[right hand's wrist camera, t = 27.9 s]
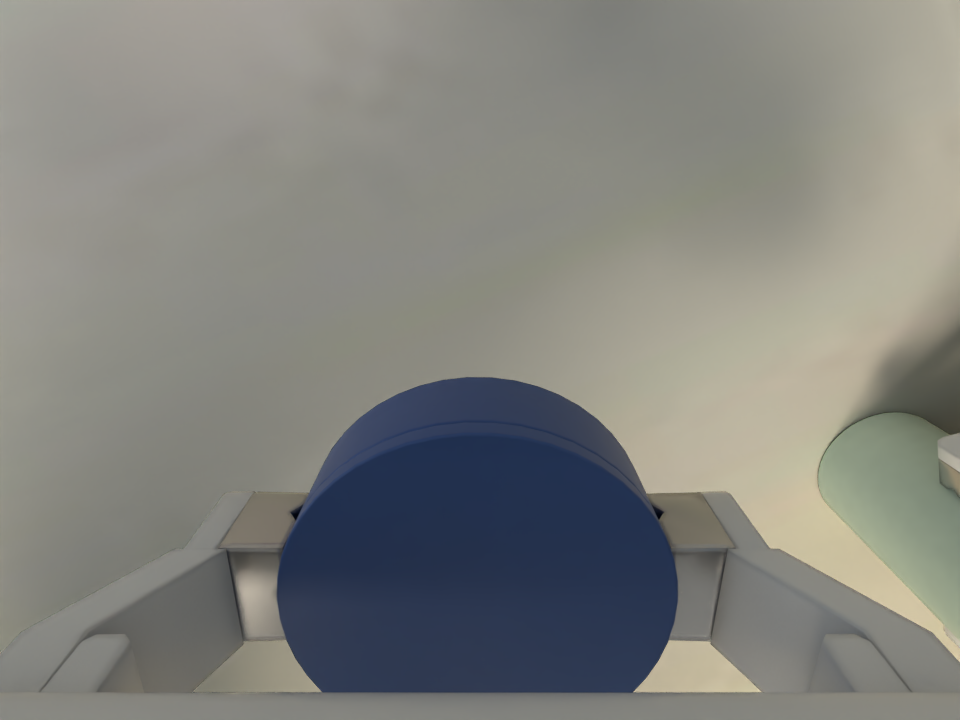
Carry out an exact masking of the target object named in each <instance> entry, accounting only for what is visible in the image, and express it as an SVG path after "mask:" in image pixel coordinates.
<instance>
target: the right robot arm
mask: <svg viewBox="0 0 960 720" xmlns="http://www.w3.org/2000/svg"><path fill="white" fill-rule="evenodd" d="M308 495H309V493H297V492H254V491H249V492H228V493H225V494H224V495H223V496H222V497H221V498H220V500H219V501H218V502H217V504H216V505H215V506H214V508H213V509H212V511H211V512H210V513H209V515H208V516H207V517H206V519H205V520H204V522H203V523H202V524H201V526H200V527H199V528H198V530H197V531H196V532H195V534H194V535H193V537H192V538H191V539H190V541H189V542H188V543H187V545H186V546H185V548H184V549H173V550H172V551H170V552H168V553H166V554H164V555H162V556H160V557H159V558H157V559H155V560H153V561H151V562H149V563H147V564H146V565H144V566H142V567H140V568H138V569H136V570H135V571H133V572H131V573H129V574H127V575H125V576H123V577H122V578H120V579H118V580H116V581H114V582H112V583H110V584H109V585H107V586H105V587H103V588H101V589H99V590H97V591H96V592H94V593H92V594H90V595H88V596H86V597H84V598H83V599H81V600H79V601H77V602H75V603H73V604H72V605H70V606H68V607H66V608H64V609H62V610H60V611H59V612H57V613H55V614H53V615H51V616H49V617H47V618H46V619H44V620H42V621H40V622H38V623H36V624H34V625H33V626H31V627H29V628H27V629H25V630H23V631H21V632H20V633H19V635H18V636H17V637H16V638H15V639H14V640H13V641H12V642H11V643H10V644H9V645H8V646H7V647H6V648H5V649H4V651H3V652H2V653H1V654H0V720H960V662H959V661H958V660H957V659H956V658H955V657H954V656H953V655H952V654H951V653H950V651H949V650H948V649H947V648H946V647H945V646H944V645H943V644H942V643H941V642H940V641H939V639H938V638H937V637H936V636H935V635H934V634H933V633H932V632H930V631H928V630H927V629H925V628H923V627H921V626H919V625H917V624H916V623H914V622H912V621H910V620H908V619H906V618H905V617H903V616H901V615H899V614H897V613H895V612H894V611H892V610H890V609H888V608H886V607H885V606H883V605H881V604H879V603H877V602H875V601H874V600H872V599H870V598H868V597H866V596H864V595H863V594H861V593H859V592H857V591H855V590H853V589H852V588H850V587H848V586H846V585H844V584H842V583H841V582H839V581H837V580H835V579H833V578H831V577H830V576H828V575H826V574H824V573H822V572H820V571H819V570H817V569H815V568H813V567H811V566H809V565H808V564H806V563H804V562H802V561H800V560H799V559H797V558H795V557H793V556H791V555H789V554H788V553H786V552H784V551H782V550H780V549H770V548H769V547H768V545H767V544H766V542H765V541H764V540H763V538H762V537H761V535H760V534H759V533H758V531H757V530H756V529H755V527H754V526H753V524H752V523H751V522H750V520H749V519H748V517H747V516H746V515H745V513H744V512H743V511H742V509H741V508H740V506H739V505H738V504H737V502H736V501H735V499H734V498H733V497H732V495H731V494H730V493H728V492H726V491H715V492H697V493H650V494H647V496H648V498H649V501H650V503H651V505H652V507H653V509H654V511H655V514H656V516H657V518H658V520H659V522H660V524H661V526H662V529H663V531H664V533H665V535H666V537H667V540H668V543H669V545H670V548H671V551H672V554H673V557H674V561H675V566H676V572H677V578H678V603H677V610H676V616H675V622H674V625H673V628H672V631H671V634H670V637H669V640H683V641H711V643H710V644H711V645H712V646H713V647H715V648H716V649H717V650H718V651H719V652H720V653H721V654H722V655H723V656H724V657H725V658H726V659H727V660H728V661H730V662H731V663H732V664H733V665H734V666H735V667H736V668H737V669H738V670H739V671H740V672H741V673H742V674H743V675H745V676H746V677H747V678H748V679H749V680H750V681H751V682H752V683H753V684H754V685H755V686H756V687H757V688H759V689H760V690H761V691H762V692H763V693H417V692H280V693H191V692H192V691H193V690H194V689H195V688H196V687H197V686H199V685H200V684H201V683H202V682H203V681H204V680H205V679H206V678H207V677H208V676H209V675H211V674H212V673H213V672H214V671H215V670H216V669H217V668H218V667H219V666H220V665H221V664H222V663H224V662H225V661H226V660H227V659H228V658H229V657H230V656H231V655H232V654H233V653H234V652H236V651H237V650H238V649H239V648H240V647H241V646H242V645H243V641H270V640H286V637H285V634H284V631H283V628H282V625H281V622H280V617H279V610H278V603H277V575H278V570H279V565H280V559H281V555H282V552H283V550H284V547H285V544H286V542H287V539H288V536H289V534H290V532H291V530H292V528H293V526H294V524H295V522H296V519H297V517H298V515H299V513H300V511H301V509H302V507H303V505H304V503H305V501H306V499H307V497H308Z"/></svg>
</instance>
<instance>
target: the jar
mask: <svg viewBox="0 0 960 720" xmlns="http://www.w3.org/2000/svg"><path fill="white" fill-rule="evenodd" d="M945 436H949V434H948V433H946V432H945V431H943V430H941V429H940V428H938V427H936V426H935V425H933V424H932V423H930V422H928V421H927V420H925V419H923V418H921V417H919V416H916V415H912V414H908V413H899V412H891V413H883V414H878V415H874V416H871V417H868V418H865V419H863V420H861V421H859V422H857V423H855V424H853V425H852V426H850V427H849V428H847V429H846V430H845V431H843V432H842V433H841V434H840V435H839V436H838V437H837V438H836V439H835V440H834V441H833V442H832V443H831V445H830V446H829V448H828V449H827V451H826V452H825V454H824V456H823V458H822V461H821V463H820V467H819V473H818V485H819V489H820V493H821V495H822V497H823V499H824V501H825V502H826V503H827V505H828V506H829V507H830V508H831V509H832V510H833V511H834V512H835V513H836V514H837V515H838V516H839V517H840V518H841V519H842V520H843V521H844V522H845V523H846V524H847V525H848V526H849V528H850V529H851V530H852V531H853V532H854V533H855V534H856V535H857V536H858V537H859V538H860V539H861V540H862V541H863V542H864V543H865V544H866V545H867V546H868V547H869V548H870V549H871V550H872V551H873V552H874V553H875V554H876V555H877V556H878V557H879V558H880V559H881V560H882V561H883V562H884V564H885V565H886V566H887V567H888V568H889V569H890V570H891V571H892V572H893V573H894V574H895V575H896V576H897V577H898V578H899V579H900V580H901V581H902V582H903V583H904V584H905V585H906V586H907V587H908V588H909V589H910V590H911V591H912V592H913V593H914V594H915V595H916V596H917V597H918V599H919V600H920V601H921V602H922V603H923V604H924V605H925V606H926V607H927V608H928V609H929V610H930V611H931V612H932V613H933V614H934V615H935V616H936V617H937V618H938V619H939V620H940V621H941V622H942V623H943V624H944V625H945V626H946V627H947V628H948V629H949V630H950V631H951V632H952V633H953V635H954V636H955V637H956V638H957V639H958V640H959V641H960V498H958V496H957V495H956V493H955V492H954V491H953V489H946V488H945V487H944V486H942V485H941V484H940V483H939V461H938V440H939V439H941V438H942V437H945Z"/></svg>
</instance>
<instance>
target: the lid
mask: <svg viewBox="0 0 960 720" xmlns="http://www.w3.org/2000/svg"><path fill="white" fill-rule="evenodd" d="M277 603H278V610H279V617H280V622H281V625H282V628H283V631H284V634H285V637H286V640H287V642H288V644H289V646H290V648H291V650H292V652H293V654H294V656H295V658H296V660H297V661H298V663H299V664H300V666H301V667H302V669H303V670H304V671H305V673H306V674H307V676H308V677H309V678H310V679H311V680H312V681H313V682H314V684H315V685H316V686H317V687H318V688H319V689H320V690H321V691H322V692H417V693H633V691H634V690H635V689H636V688H637V687H638V686H639V685H640V684H641V683H642V682H643V681H644V680H645V679H646V677H647V676H648V675H649V673H650V672H651V670H652V669H653V668H654V666H655V665H656V663H657V662H658V660H659V659H660V657H661V655H662V653H663V651H664V649H665V647H666V645H667V643H668V640H669V637H670V634H671V631H672V628H673V625H674V622H675V616H676V610H677V603H678V578H677V572H676V566H675V561H674V557H673V554H672V551H671V548H670V545H669V543H668V540H667V537H666V535H665V533H664V531H663V529H662V526H661V524H660V522H659V520H658V518H657V516H656V514H655V511H654V509H653V507H652V505H651V503H650V501H649V498H648V496H647V494H646V492H645V490H644V488H643V486H642V483H641V481H640V479H639V477H638V475H637V473H636V471H635V468H634V467H633V465H632V463H631V461H630V459H629V457H628V456H627V454H626V452H625V450H624V449H623V447H622V446H621V445H620V444H619V442H618V441H617V440H616V438H615V437H614V436H613V434H612V433H611V432H610V431H609V430H608V429H607V428H606V427H605V426H604V425H603V424H602V423H601V422H600V421H599V420H598V419H596V418H595V417H594V416H592V415H591V414H590V413H588V412H587V411H586V410H584V409H583V408H581V407H580V406H579V405H577V404H575V403H573V402H571V401H570V400H568V399H566V398H564V397H562V396H560V395H558V394H556V393H553V392H551V391H548V390H546V389H543V388H541V387H538V386H534V385H530V384H526V383H522V382H518V381H514V380H507V379H499V378H490V377H466V378H457V379H448V380H441V381H437V382H433V383H429V384H425V385H421V386H418V387H415V388H412V389H410V390H407V391H405V392H402V393H399V394H397V395H395V396H393V397H391V398H390V399H388V400H386V401H384V402H382V403H380V404H378V405H377V406H375V407H374V408H373V409H371V410H370V411H369V412H367V413H366V414H364V415H363V416H362V417H360V418H359V419H358V420H357V421H356V422H355V423H354V424H353V425H352V426H351V427H350V428H349V429H348V430H347V431H346V432H345V433H344V434H343V435H342V436H341V438H340V439H339V440H338V442H337V443H336V444H335V445H334V447H333V448H332V450H331V451H330V453H329V455H328V457H327V458H326V460H325V462H324V464H323V466H322V468H321V470H320V472H319V474H318V476H317V478H316V480H315V482H314V484H313V486H312V488H311V490H310V492H309V495H308V497H307V499H306V501H305V503H304V505H303V507H302V509H301V511H300V513H299V515H298V517H297V519H296V522H295V524H294V526H293V528H292V530H291V532H290V534H289V536H288V539H287V542H286V544H285V547H284V550H283V552H282V555H281V559H280V565H279V570H278V575H277Z"/></svg>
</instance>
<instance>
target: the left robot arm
mask: <svg viewBox="0 0 960 720" xmlns="http://www.w3.org/2000/svg"><path fill="white" fill-rule="evenodd" d="M938 461H939V483H940V484H941V485H942V486H944V487H945V488H946V489H953V491H954V492H955V493H956V495H957V496H958V498H960V433H957V434H953V435H949V436H945V437H942V438H941V439H939V440H938ZM944 632H945V634H946V635H947V636H948V637H949V638H950V639H951V640H952V641H953V642H954V643H955V644H956V645H957V646H958V647H959V648H960V641H959V640H958V639H957V638H956V637H955V636H954V635H953V633H952V632H951V631H950V630H949V629H948V628H947V627H946V626H945V625H944Z"/></svg>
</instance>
